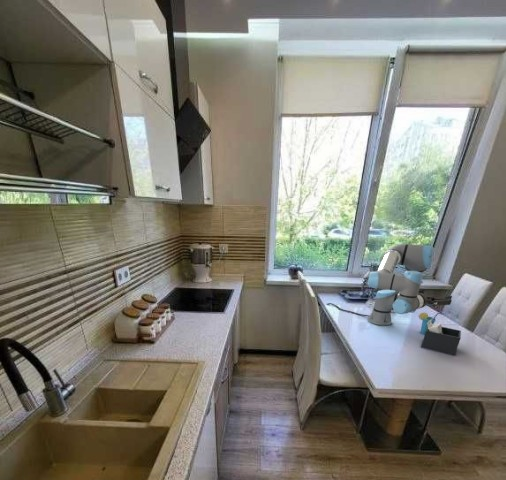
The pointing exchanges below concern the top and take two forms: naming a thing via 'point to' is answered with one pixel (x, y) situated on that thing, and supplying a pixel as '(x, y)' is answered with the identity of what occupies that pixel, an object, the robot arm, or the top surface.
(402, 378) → the top surface
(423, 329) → the cup
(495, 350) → the top surface
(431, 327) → the ink box
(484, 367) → the top surface
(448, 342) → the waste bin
